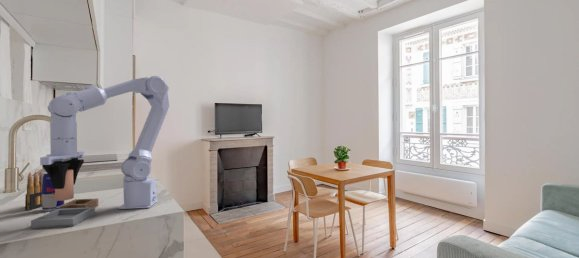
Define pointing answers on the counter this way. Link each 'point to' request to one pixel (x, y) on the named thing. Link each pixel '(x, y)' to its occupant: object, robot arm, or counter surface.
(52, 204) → the energy drink
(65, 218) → the tray
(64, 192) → the dowel
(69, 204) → the frame
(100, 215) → the counter surface
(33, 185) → the ammunition clip
